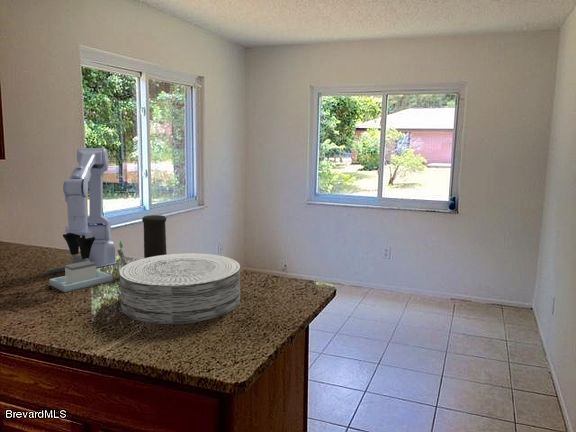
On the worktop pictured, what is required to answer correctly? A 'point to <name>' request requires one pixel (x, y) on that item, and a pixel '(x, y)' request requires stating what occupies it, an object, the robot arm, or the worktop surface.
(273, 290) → the worktop surface
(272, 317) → the worktop surface
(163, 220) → the container
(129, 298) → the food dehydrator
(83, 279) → the block
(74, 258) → the bay
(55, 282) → the tray
